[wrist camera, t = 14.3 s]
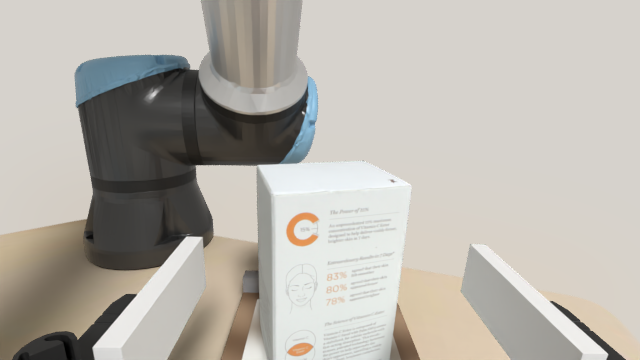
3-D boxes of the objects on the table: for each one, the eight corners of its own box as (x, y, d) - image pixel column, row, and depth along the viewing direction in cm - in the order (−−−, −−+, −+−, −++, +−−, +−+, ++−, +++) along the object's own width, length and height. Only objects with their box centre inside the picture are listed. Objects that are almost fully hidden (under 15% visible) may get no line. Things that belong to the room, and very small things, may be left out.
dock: (246, 306, 30) (245, 270, 29) (388, 309, 31) (393, 274, 30) (194, 481, 17) (188, 427, 16) (448, 481, 17) (460, 428, 16)
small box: (352, 306, 27) (365, 159, 23) (391, 368, 21) (416, 184, 17) (257, 325, 24) (254, 162, 20) (271, 400, 18) (271, 193, 15)
